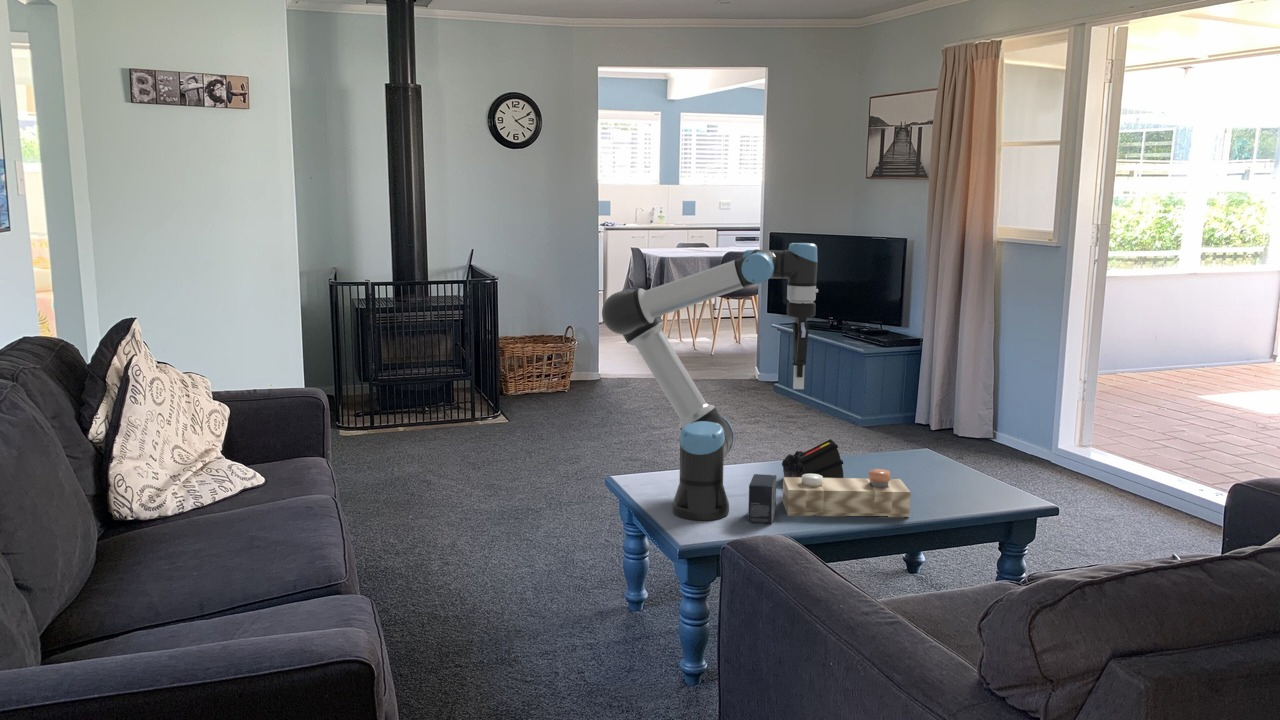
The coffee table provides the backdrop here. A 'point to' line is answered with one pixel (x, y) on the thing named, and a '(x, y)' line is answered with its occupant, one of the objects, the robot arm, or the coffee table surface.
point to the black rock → (792, 465)
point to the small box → (762, 499)
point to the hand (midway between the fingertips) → (798, 388)
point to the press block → (845, 498)
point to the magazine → (822, 460)
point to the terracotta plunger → (879, 478)
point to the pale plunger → (812, 480)
